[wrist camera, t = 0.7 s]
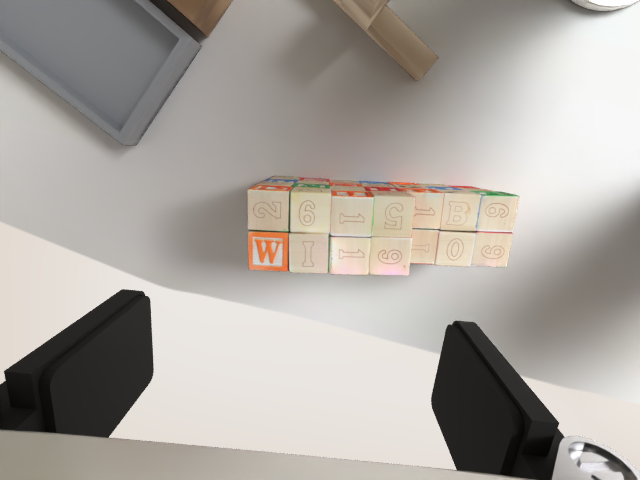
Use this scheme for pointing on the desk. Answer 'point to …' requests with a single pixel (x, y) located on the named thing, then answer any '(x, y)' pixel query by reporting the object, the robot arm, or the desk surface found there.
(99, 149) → the desk surface
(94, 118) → the box
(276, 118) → the desk surface
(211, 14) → the brown wooden board
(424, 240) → the stack of blocks
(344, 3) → the scraper
